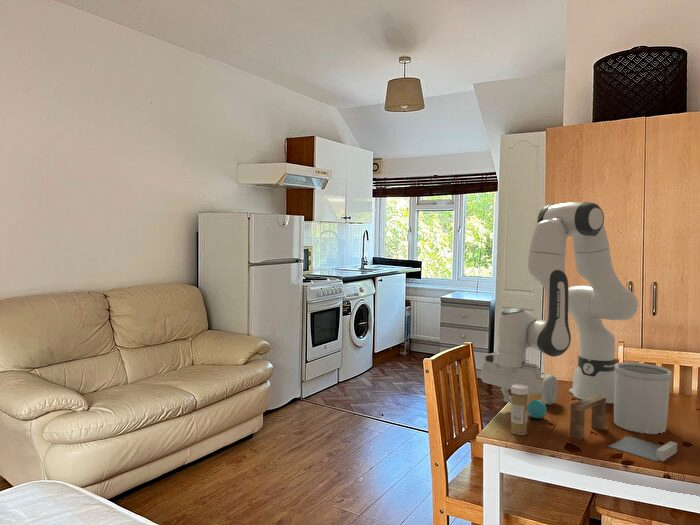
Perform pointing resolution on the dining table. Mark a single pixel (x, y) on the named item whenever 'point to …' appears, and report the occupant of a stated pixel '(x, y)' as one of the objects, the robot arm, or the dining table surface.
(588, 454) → the dining table surface
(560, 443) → the dining table surface
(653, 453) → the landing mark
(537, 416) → the ball
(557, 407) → the dining table surface
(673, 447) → the stopper wall
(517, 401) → the sprinkles bottle
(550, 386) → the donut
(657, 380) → the utensil holder
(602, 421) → the bridge
